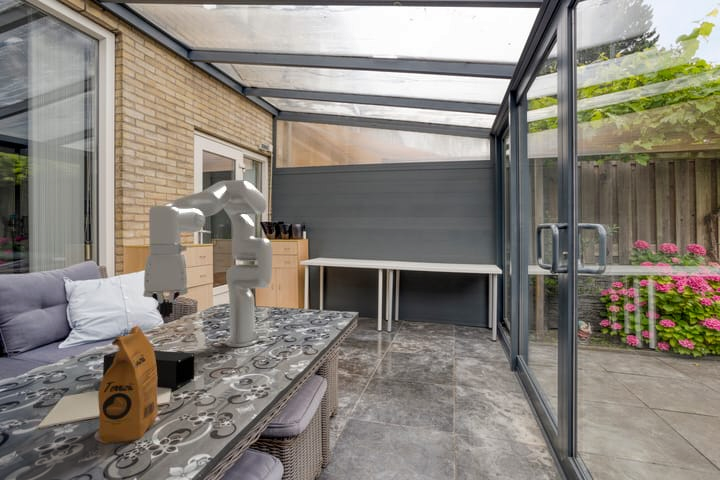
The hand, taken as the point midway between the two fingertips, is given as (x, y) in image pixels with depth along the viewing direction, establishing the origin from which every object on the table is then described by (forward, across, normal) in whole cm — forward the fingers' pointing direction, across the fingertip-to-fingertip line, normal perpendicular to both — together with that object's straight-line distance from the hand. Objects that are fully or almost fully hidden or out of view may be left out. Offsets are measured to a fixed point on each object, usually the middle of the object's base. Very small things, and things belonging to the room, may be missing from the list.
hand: (166, 316), depth 95 cm
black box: (+17, -5, -2) cm, 18 cm away
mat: (+21, +12, 0) cm, 24 cm away
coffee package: (+21, +6, +17) cm, 28 cm away
